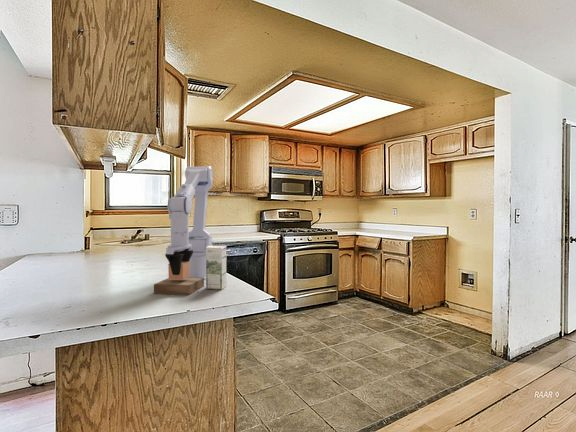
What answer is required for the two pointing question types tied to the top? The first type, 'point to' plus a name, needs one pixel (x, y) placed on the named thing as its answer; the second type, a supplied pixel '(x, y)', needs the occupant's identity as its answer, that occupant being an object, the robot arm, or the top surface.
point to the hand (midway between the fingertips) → (179, 273)
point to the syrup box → (216, 267)
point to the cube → (183, 271)
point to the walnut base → (179, 286)
